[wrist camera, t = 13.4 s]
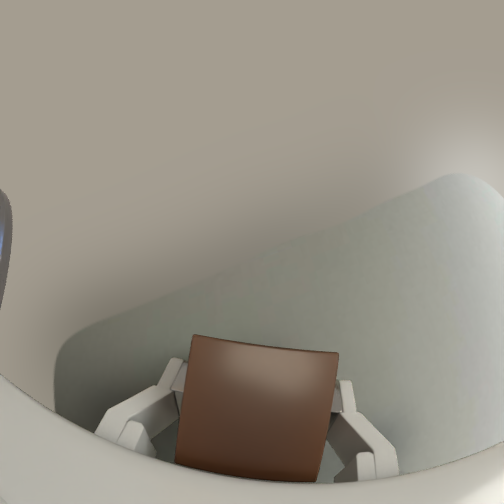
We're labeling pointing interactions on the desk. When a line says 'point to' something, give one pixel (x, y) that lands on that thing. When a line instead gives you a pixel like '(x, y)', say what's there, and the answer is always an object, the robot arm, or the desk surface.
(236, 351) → the walnut block
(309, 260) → the desk surface
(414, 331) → the desk surface
